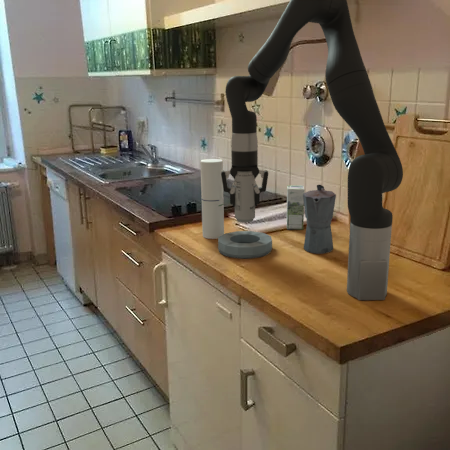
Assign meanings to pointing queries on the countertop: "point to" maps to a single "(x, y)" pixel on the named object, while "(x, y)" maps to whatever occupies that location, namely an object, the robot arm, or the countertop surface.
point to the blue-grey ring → (244, 244)
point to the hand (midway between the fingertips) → (244, 205)
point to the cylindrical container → (212, 198)
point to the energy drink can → (244, 197)
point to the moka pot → (319, 220)
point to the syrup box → (295, 207)
